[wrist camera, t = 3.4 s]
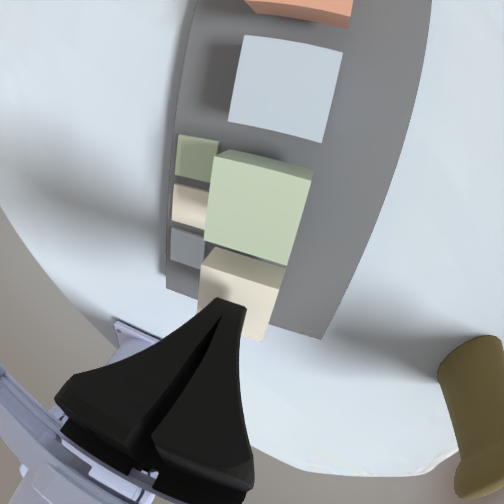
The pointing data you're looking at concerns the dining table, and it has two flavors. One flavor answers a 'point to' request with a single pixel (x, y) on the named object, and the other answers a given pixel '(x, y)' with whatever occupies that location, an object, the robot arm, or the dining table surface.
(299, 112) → the key blue
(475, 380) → the cork
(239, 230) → the key sage
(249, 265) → the key cream
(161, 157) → the dining table surface
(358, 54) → the keypad base
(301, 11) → the key terracotta
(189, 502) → the robot arm
